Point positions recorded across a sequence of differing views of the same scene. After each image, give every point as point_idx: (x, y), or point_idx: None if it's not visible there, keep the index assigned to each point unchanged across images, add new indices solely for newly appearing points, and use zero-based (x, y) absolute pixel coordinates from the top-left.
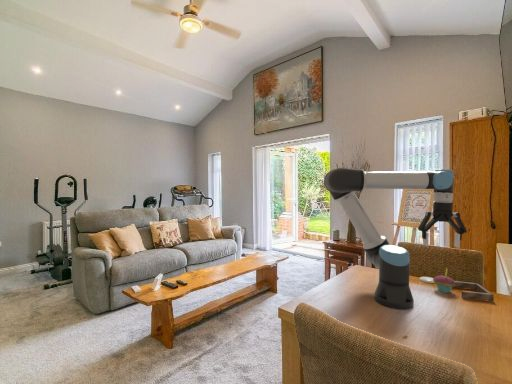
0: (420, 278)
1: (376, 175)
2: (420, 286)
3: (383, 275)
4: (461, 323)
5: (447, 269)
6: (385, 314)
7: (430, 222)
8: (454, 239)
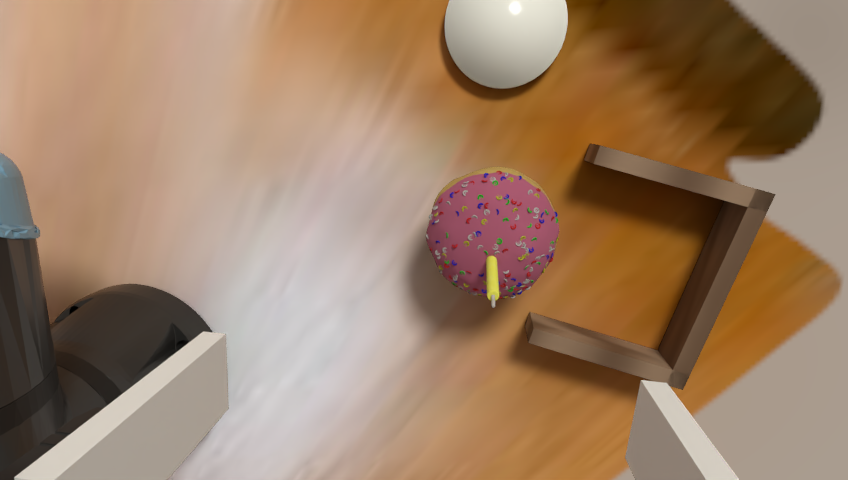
0: (450, 10)
1: None
2: (381, 152)
3: None
4: None
5: (496, 298)
6: None
7: None
8: (689, 459)
